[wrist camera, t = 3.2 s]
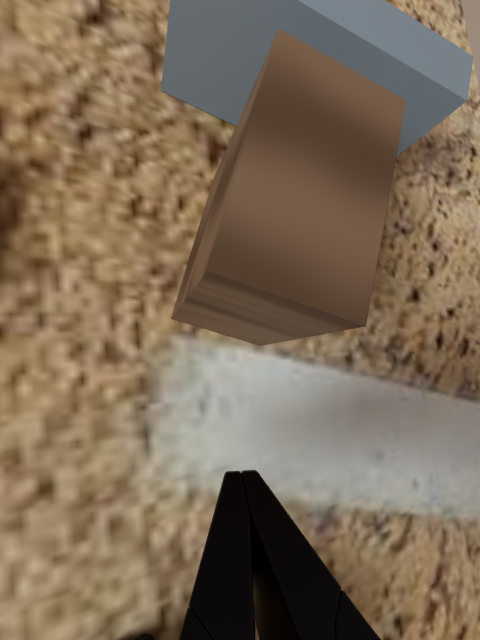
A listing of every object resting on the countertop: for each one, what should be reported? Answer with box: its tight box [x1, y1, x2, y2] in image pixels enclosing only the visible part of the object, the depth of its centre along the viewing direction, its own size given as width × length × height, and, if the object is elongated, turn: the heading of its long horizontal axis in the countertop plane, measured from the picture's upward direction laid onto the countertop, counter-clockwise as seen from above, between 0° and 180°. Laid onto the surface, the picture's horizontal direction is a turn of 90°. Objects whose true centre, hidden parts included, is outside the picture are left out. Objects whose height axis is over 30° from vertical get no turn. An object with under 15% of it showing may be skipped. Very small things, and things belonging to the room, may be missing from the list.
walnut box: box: [171, 29, 407, 346], centre depth 18 cm, size 10×6×11 cm, turn 165°
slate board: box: [161, 0, 473, 157], centre depth 21 cm, size 3×16×9 cm, turn 75°
